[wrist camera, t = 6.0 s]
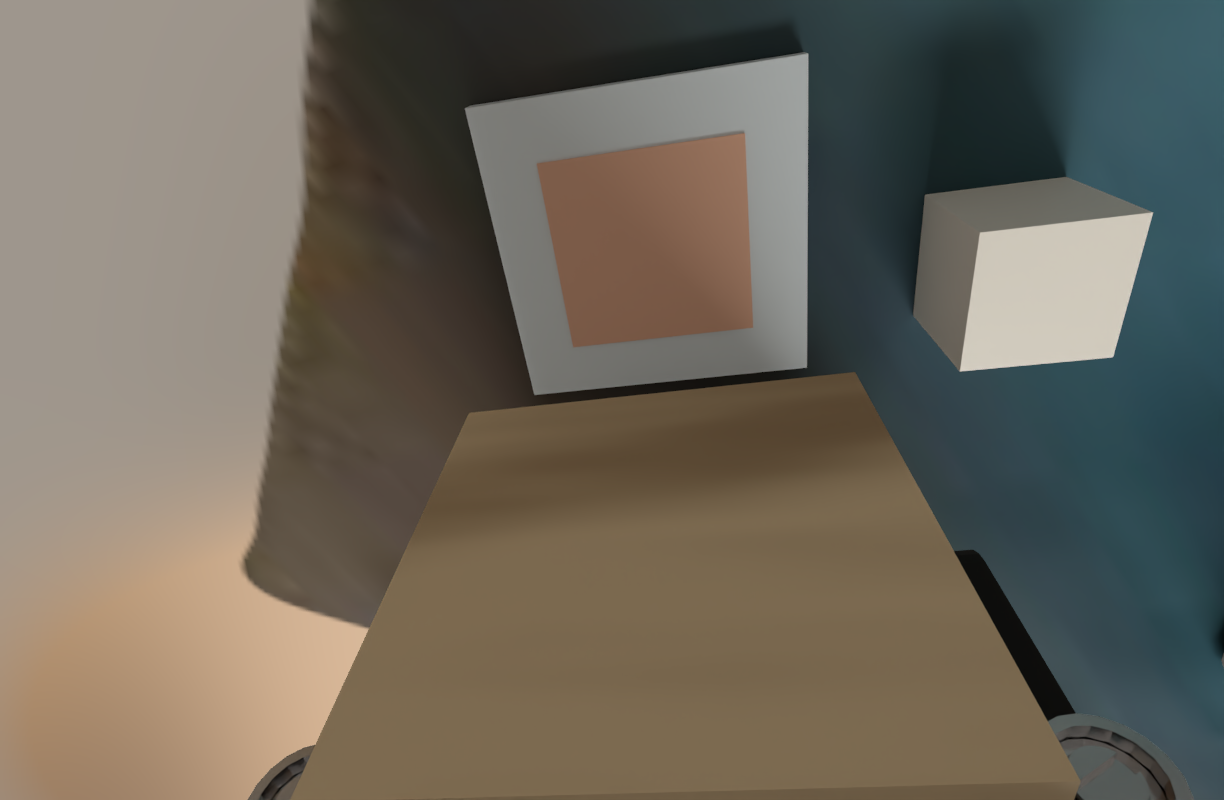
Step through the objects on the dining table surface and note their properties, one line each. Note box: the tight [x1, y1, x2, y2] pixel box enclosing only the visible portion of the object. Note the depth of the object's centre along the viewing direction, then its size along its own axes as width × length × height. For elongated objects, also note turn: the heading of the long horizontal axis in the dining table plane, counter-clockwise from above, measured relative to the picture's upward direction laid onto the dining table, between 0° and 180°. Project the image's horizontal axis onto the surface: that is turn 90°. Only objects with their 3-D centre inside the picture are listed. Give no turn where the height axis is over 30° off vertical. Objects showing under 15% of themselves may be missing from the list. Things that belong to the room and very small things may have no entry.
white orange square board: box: [465, 52, 808, 395], centre depth 26 cm, size 12×12×1 cm
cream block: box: [913, 177, 1153, 371], centre depth 24 cm, size 5×5×5 cm
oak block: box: [290, 372, 1081, 800], centre depth 9 cm, size 6×6×6 cm
